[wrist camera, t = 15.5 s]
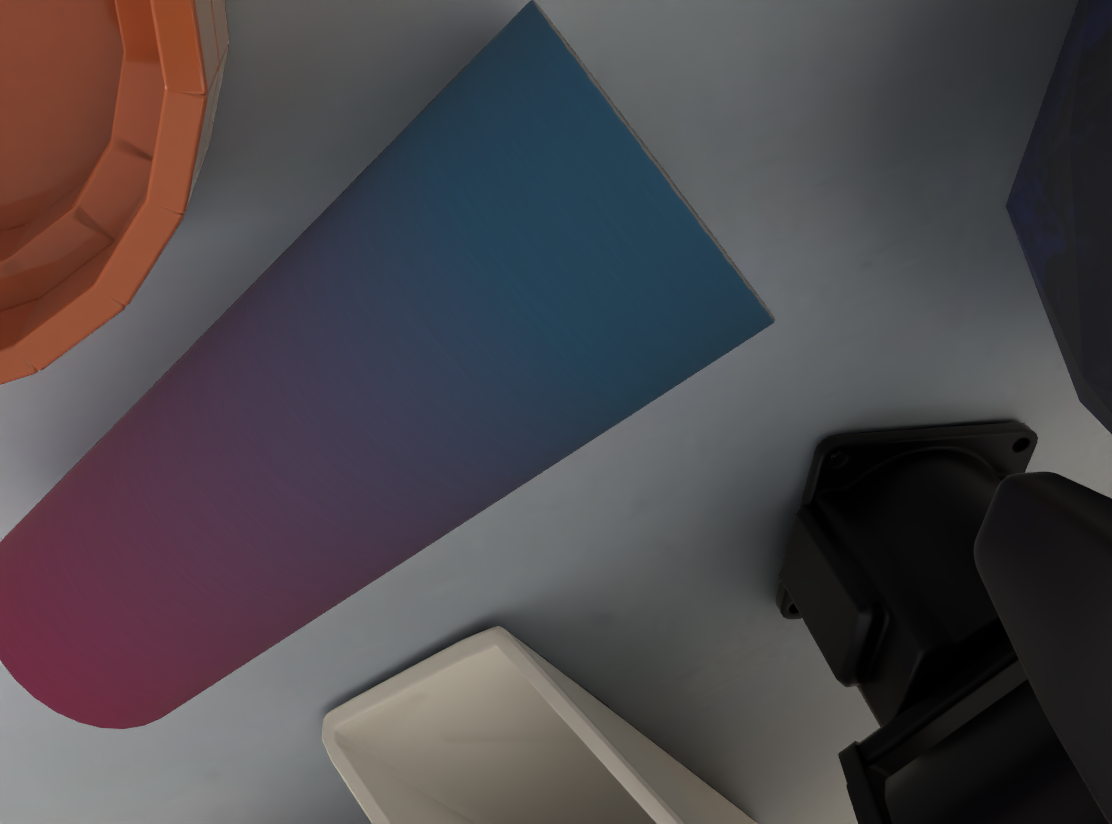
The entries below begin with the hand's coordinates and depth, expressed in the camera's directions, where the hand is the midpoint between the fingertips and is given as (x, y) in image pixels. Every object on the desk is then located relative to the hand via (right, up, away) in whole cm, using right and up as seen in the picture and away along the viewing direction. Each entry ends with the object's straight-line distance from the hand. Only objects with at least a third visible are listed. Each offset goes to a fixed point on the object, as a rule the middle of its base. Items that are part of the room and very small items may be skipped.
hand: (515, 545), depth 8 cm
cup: (-10, -3, +12) cm, 16 cm away
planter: (+3, -11, +24) cm, 27 cm away
